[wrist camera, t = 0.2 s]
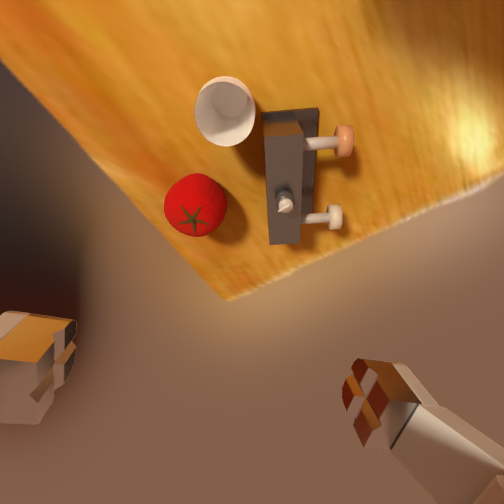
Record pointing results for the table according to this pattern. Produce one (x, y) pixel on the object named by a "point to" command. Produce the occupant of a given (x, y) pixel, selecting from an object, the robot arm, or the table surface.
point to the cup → (225, 111)
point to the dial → (284, 200)
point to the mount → (288, 169)
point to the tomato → (195, 205)
